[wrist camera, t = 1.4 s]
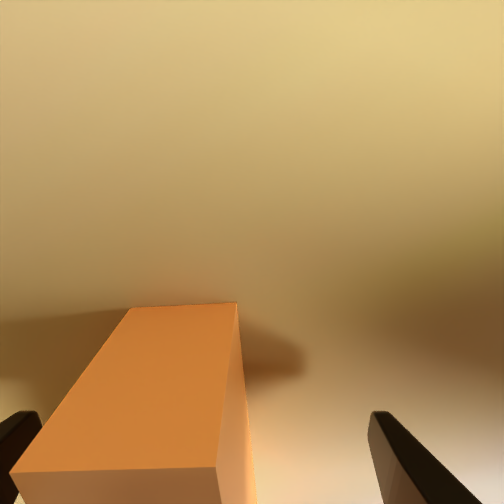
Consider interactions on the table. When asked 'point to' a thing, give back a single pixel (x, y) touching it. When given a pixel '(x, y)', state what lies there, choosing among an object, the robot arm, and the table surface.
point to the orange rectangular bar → (151, 418)
